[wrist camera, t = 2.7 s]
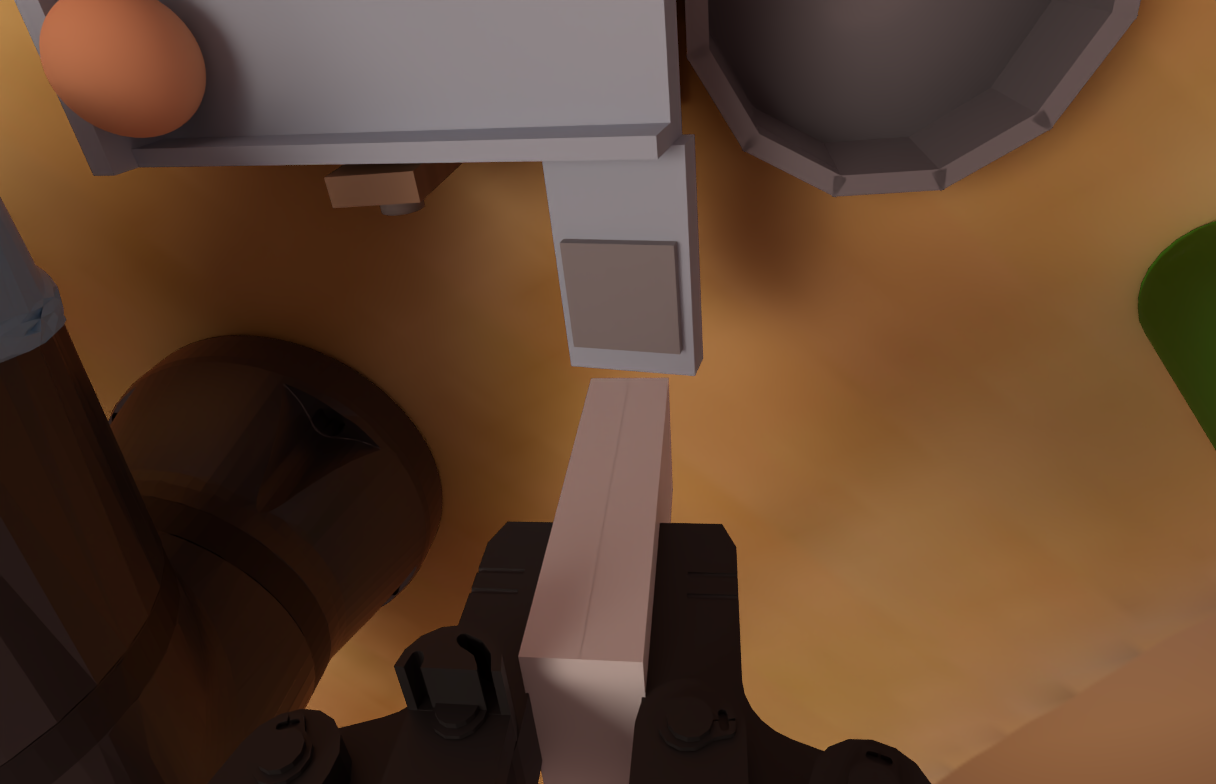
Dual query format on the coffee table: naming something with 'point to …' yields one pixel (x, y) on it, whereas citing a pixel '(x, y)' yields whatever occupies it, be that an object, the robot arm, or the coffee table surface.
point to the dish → (895, 81)
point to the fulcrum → (386, 185)
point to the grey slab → (470, 130)
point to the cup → (1185, 318)
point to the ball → (123, 64)
